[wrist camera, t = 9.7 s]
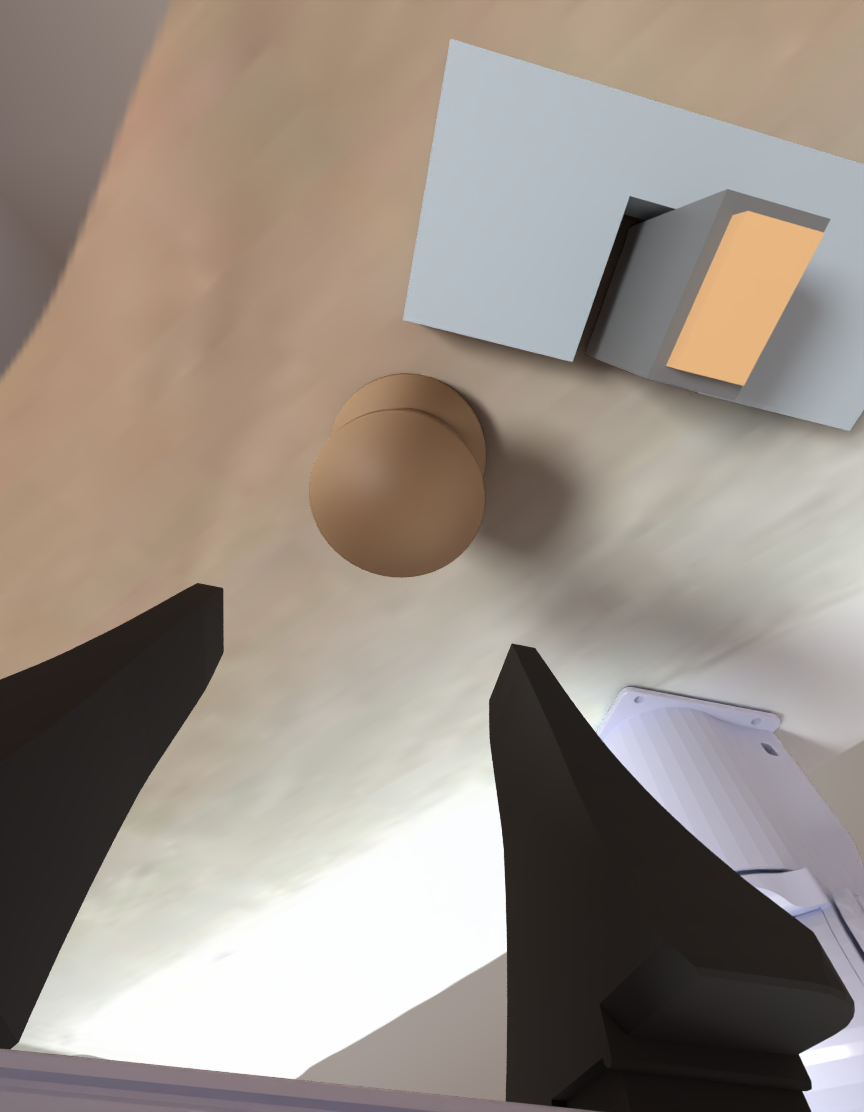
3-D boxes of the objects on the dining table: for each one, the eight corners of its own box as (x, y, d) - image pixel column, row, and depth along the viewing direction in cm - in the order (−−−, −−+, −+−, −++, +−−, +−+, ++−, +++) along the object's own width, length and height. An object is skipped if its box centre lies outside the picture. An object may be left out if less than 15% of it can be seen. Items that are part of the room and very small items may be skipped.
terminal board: (928, 218, 15) (1000, 205, 13) (806, 417, 18) (849, 431, 16) (449, 75, 14) (450, 38, 12) (407, 318, 17) (402, 319, 15)
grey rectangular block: (699, 246, 15) (851, 214, 10) (647, 370, 17) (747, 405, 12) (630, 226, 15) (743, 182, 9) (585, 354, 17) (655, 382, 11)
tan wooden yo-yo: (504, 394, 18) (524, 426, 13) (463, 537, 21) (468, 602, 16) (341, 355, 17) (305, 375, 13) (324, 507, 20) (290, 566, 16)
